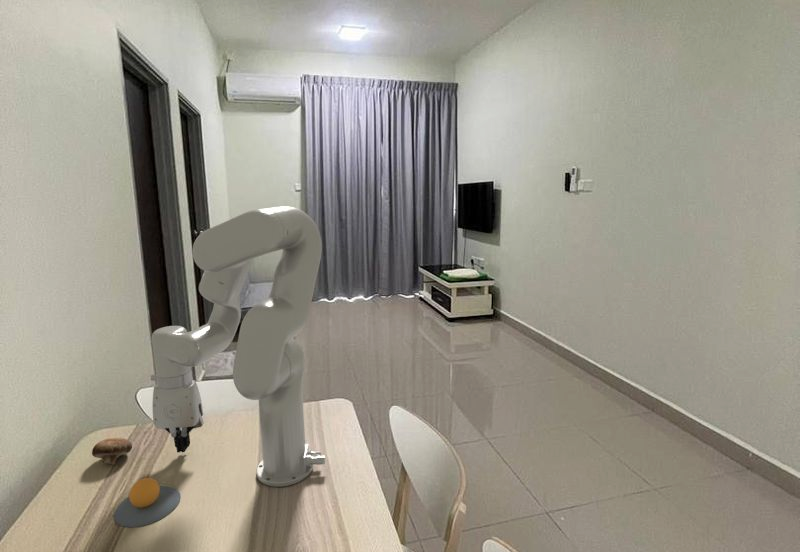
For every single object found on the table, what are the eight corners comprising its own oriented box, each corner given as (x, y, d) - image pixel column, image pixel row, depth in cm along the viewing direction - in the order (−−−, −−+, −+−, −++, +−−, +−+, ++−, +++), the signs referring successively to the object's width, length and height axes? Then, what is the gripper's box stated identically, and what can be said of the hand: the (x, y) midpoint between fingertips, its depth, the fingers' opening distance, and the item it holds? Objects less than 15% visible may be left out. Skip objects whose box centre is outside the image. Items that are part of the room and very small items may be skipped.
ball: (166, 476, 97) (152, 477, 92) (163, 504, 95) (149, 507, 90) (139, 478, 97) (125, 480, 92) (136, 507, 95) (121, 510, 90)
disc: (189, 485, 100) (189, 484, 100) (165, 525, 88) (165, 524, 88) (133, 487, 99) (133, 487, 99) (101, 528, 87) (100, 527, 87)
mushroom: (108, 463, 103) (108, 434, 105) (82, 471, 105) (84, 443, 107) (139, 461, 110) (139, 434, 112) (114, 468, 112) (115, 442, 114)
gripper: (134, 386, 103) (144, 459, 107) (201, 384, 104) (209, 456, 108) (149, 373, 110) (158, 441, 114) (212, 371, 111) (219, 439, 115)
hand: (183, 449), depth 111 cm, fingers closed
